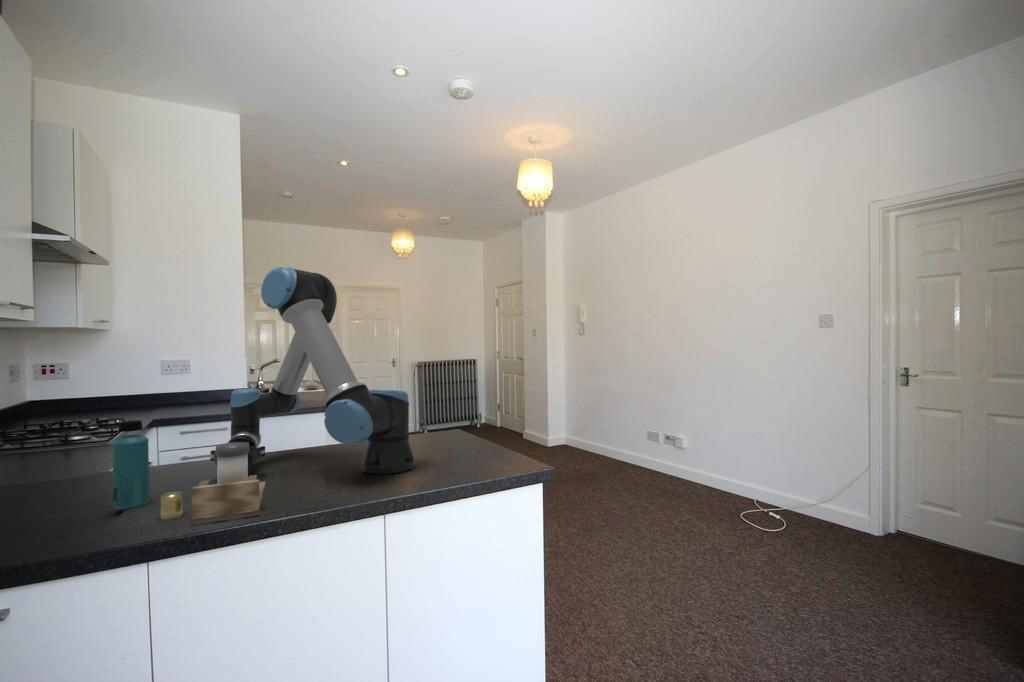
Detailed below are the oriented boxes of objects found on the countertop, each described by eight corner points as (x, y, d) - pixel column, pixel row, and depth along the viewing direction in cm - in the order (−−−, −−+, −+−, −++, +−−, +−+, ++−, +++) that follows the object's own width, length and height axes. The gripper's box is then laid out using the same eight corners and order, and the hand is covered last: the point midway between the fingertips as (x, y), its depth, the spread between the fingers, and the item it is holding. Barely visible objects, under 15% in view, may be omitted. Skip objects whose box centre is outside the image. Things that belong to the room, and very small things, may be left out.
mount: (265, 487, 121) (265, 457, 121) (258, 517, 100) (258, 481, 100) (210, 493, 116) (210, 463, 116) (191, 527, 95) (191, 489, 95)
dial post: (184, 519, 99) (184, 490, 99) (180, 525, 96) (180, 495, 96) (163, 522, 97) (163, 493, 97) (158, 528, 94) (158, 498, 94)
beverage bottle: (157, 507, 106) (157, 418, 107) (126, 517, 100) (126, 423, 100) (135, 505, 108) (135, 417, 108) (103, 515, 102) (103, 422, 102)
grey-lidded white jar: (250, 491, 112) (250, 440, 112) (247, 499, 106) (247, 446, 106) (218, 495, 109) (218, 443, 109) (213, 504, 103) (213, 449, 103)
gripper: (267, 458, 134) (261, 480, 113) (214, 463, 129) (197, 487, 108) (267, 432, 135) (261, 448, 113) (214, 436, 129) (196, 454, 108)
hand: (230, 467), depth 110 cm, fingers closed
